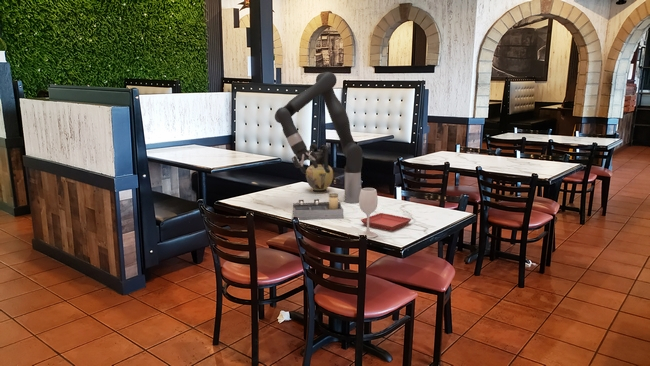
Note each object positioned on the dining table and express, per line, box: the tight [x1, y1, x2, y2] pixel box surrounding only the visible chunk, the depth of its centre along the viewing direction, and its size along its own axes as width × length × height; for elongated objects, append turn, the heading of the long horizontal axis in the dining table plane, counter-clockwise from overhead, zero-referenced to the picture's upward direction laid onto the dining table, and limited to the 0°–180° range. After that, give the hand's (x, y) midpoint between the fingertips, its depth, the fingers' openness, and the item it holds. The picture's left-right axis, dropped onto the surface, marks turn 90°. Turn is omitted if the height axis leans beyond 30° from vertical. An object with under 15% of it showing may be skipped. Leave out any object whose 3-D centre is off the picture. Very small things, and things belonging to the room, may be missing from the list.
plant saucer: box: [360, 212, 412, 232], centre depth 240 cm, size 18×18×3 cm
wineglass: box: [357, 187, 378, 239], centre depth 222 cm, size 9×9×21 cm
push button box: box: [292, 198, 345, 221], centre depth 256 cm, size 25×13×7 cm, turn 97°
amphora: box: [305, 143, 334, 194], centre depth 310 cm, size 18×17×30 cm
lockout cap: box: [328, 192, 339, 209], centre depth 255 cm, size 4×4×10 cm
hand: (310, 170), depth 262 cm, fingers open, 8 cm apart
